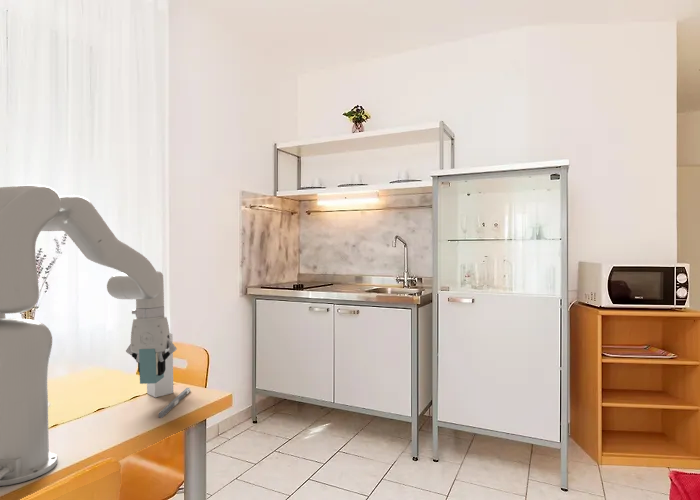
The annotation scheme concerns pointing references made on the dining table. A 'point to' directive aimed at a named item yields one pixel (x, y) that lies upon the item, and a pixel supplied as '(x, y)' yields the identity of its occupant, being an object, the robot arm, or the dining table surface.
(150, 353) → the tea tin
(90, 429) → the dining table surface
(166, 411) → the rail
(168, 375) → the milk
